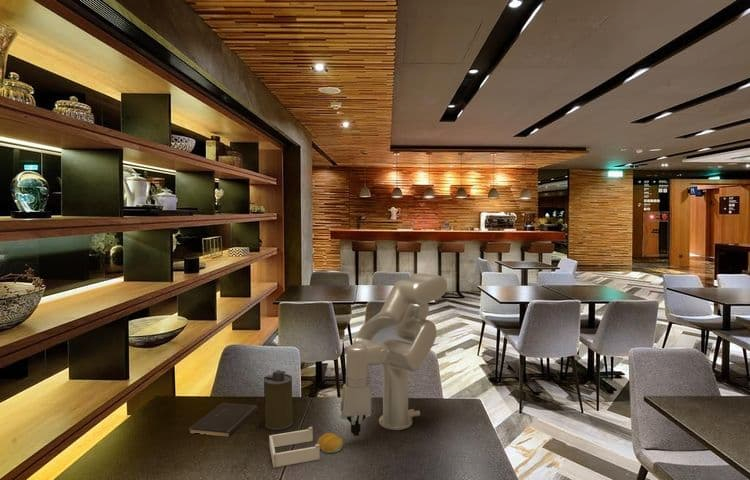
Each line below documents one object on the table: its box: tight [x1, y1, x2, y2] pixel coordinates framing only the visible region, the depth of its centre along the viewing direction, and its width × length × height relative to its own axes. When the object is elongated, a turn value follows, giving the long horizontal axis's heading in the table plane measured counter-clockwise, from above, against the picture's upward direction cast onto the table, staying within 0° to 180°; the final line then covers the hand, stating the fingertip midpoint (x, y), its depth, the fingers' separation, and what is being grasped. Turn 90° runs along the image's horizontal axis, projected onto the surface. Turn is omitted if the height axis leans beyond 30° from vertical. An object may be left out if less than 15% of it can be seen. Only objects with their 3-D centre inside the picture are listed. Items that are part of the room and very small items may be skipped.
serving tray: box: [268, 426, 321, 468], centre depth 145 cm, size 15×14×5 cm
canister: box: [263, 369, 294, 431], centre depth 165 cm, size 11×10×20 cm
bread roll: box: [316, 432, 344, 454], centre depth 149 cm, size 8×9×4 cm
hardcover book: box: [188, 402, 259, 438], centre depth 168 cm, size 16×23×2 cm
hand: (355, 434), depth 151 cm, fingers closed
